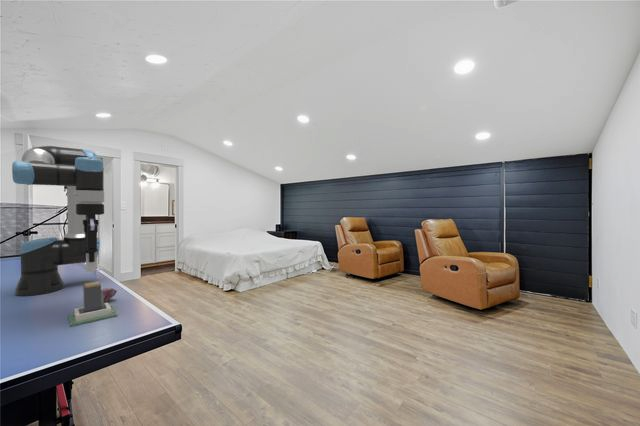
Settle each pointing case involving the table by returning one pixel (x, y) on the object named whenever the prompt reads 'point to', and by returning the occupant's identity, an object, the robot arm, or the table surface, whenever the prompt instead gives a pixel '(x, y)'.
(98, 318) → the green square tray
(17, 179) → the robot arm
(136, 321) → the table surface
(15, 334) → the table surface
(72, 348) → the table surface
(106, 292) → the video game controller
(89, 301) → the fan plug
